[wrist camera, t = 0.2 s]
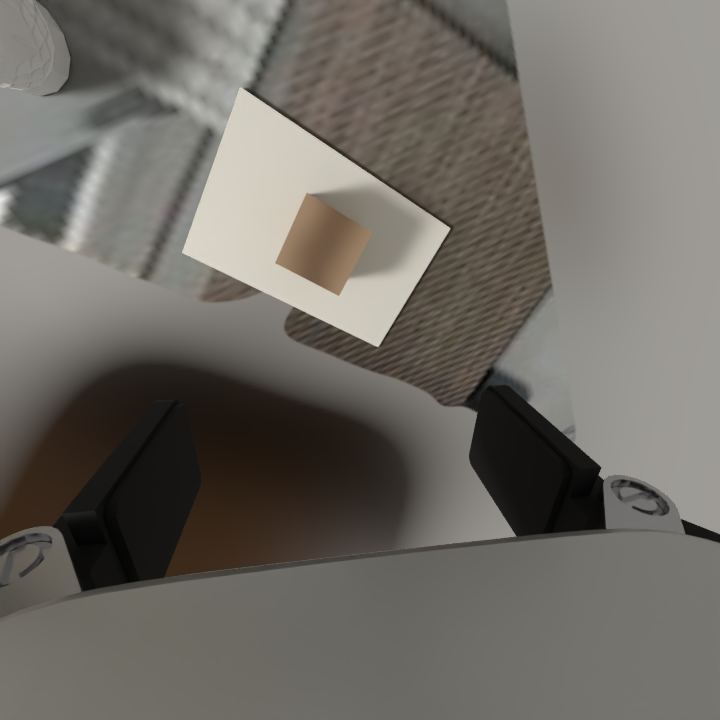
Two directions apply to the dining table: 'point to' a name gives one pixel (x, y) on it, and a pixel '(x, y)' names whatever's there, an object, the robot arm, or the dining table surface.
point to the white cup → (31, 49)
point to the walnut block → (323, 245)
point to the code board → (278, 211)
